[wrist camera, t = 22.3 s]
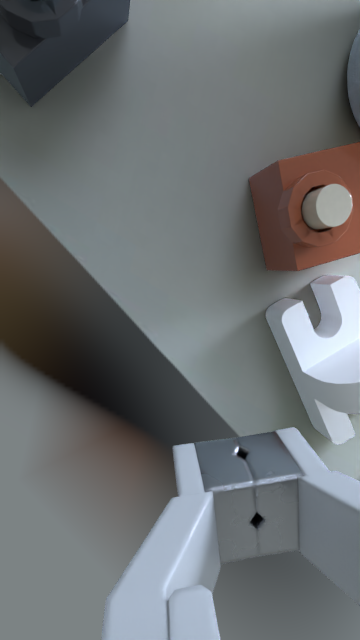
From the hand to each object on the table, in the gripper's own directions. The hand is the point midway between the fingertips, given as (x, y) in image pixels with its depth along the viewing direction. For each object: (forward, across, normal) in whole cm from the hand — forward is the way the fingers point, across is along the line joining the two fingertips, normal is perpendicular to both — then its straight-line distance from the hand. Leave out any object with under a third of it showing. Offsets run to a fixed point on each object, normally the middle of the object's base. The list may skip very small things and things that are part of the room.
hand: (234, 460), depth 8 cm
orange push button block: (+31, +16, +6) cm, 35 cm away
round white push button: (+23, +14, +6) cm, 27 cm away
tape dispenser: (+30, +18, -11) cm, 37 cm away
